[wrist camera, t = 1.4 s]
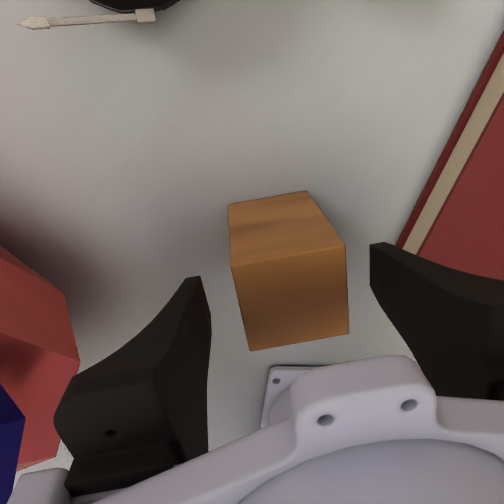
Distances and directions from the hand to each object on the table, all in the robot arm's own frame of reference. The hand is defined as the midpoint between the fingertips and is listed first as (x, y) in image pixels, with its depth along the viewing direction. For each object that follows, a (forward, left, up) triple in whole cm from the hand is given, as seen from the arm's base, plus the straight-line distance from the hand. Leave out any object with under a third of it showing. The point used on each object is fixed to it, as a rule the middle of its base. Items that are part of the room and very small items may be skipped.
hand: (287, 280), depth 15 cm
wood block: (0, 0, -5) cm, 5 cm away
